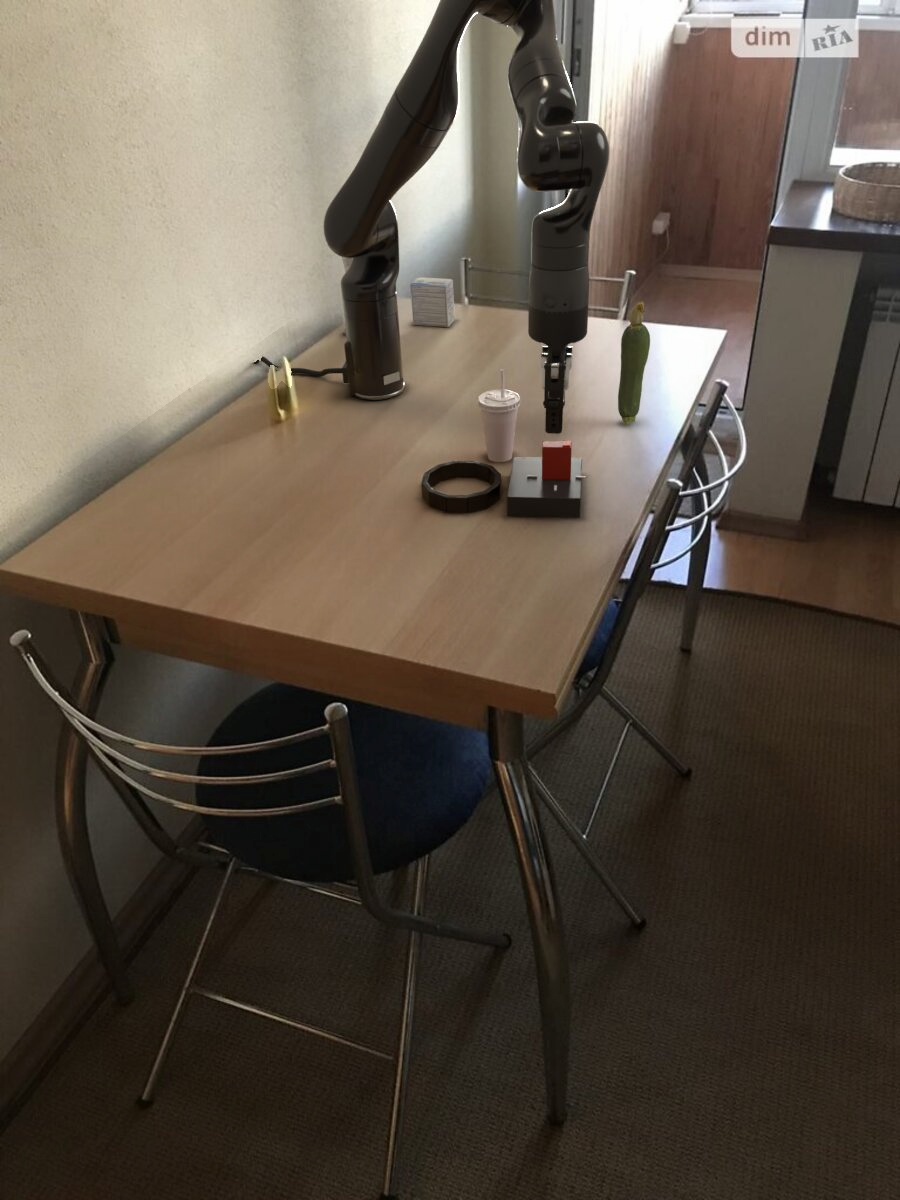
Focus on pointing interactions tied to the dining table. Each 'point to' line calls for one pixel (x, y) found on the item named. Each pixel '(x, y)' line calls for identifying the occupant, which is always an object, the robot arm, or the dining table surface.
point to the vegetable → (633, 364)
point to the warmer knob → (556, 460)
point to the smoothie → (499, 421)
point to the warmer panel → (543, 490)
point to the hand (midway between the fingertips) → (555, 418)
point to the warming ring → (461, 501)
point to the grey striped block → (432, 302)
